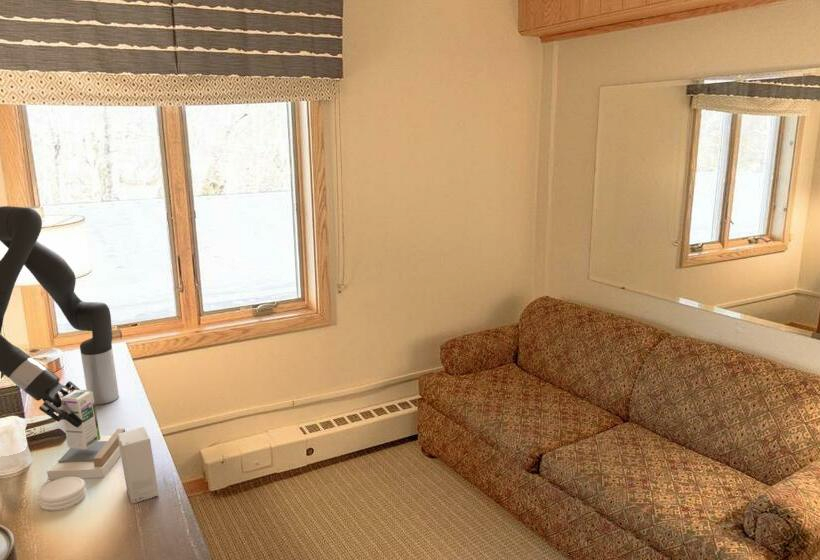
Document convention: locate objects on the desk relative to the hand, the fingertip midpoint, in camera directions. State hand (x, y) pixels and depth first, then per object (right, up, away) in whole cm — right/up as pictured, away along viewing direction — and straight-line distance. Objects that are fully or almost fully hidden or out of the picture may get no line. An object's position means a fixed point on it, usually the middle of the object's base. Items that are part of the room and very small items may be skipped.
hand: (86, 418), depth 169 cm
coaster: (+2, -17, -14) cm, 22 cm away
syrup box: (-2, -7, +2) cm, 8 cm away
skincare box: (+20, -16, -12) cm, 28 cm away
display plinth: (0, -12, +3) cm, 12 cm away
